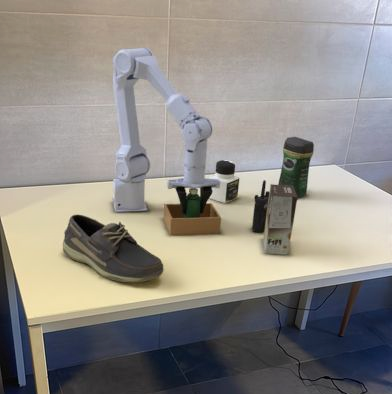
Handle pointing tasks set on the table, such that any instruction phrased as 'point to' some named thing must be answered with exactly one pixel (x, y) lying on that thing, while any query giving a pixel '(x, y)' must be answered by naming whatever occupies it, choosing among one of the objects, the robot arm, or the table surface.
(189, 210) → the bottle
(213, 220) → the box
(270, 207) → the coffee box
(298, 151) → the coffee jar
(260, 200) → the two-way radio
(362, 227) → the table surface
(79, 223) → the boat shoe
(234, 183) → the medicine bottle
